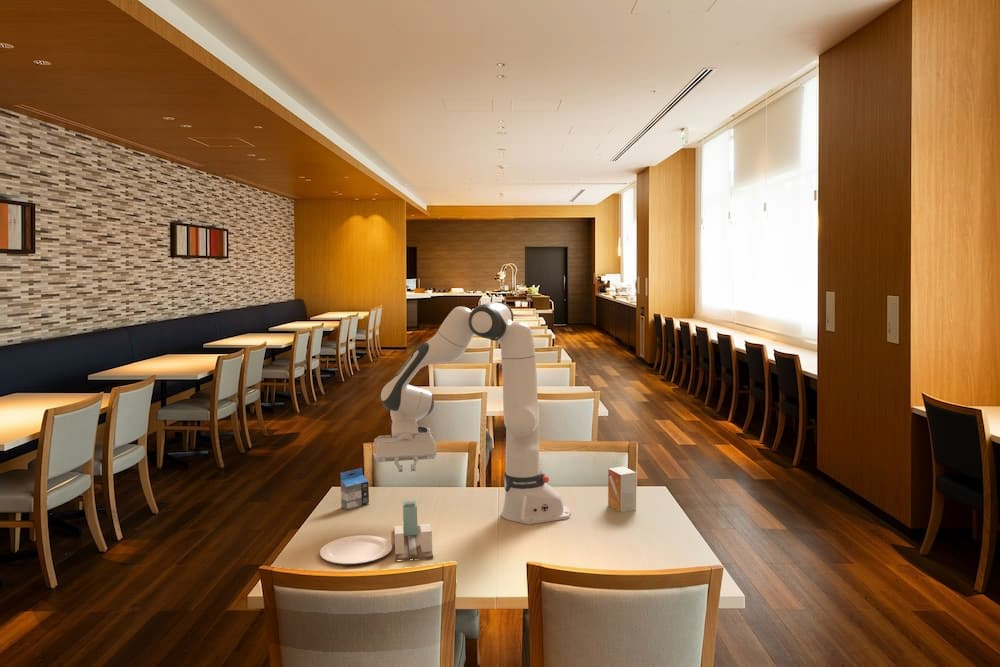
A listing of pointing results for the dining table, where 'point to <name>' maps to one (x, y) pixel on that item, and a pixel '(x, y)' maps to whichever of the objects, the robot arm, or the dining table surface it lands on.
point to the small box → (622, 489)
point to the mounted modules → (424, 538)
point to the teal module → (410, 518)
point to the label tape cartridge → (354, 489)
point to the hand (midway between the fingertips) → (406, 470)
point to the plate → (355, 550)
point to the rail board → (413, 548)
